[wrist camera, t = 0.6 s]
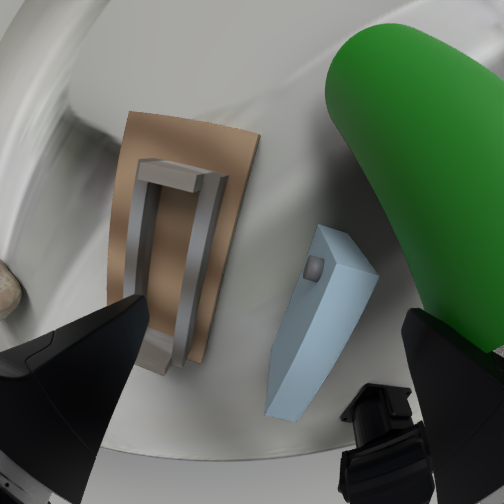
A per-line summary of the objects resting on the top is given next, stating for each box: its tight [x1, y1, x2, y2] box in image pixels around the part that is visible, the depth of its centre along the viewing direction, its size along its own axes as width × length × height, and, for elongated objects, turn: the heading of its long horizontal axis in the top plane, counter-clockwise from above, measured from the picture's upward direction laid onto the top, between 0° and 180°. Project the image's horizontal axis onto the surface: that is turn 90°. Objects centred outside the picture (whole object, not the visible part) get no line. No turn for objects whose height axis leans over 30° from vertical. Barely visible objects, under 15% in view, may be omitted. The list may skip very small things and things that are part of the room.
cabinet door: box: [265, 224, 380, 422], centre depth 18 cm, size 12×3×8 cm, turn 165°
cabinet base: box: [107, 111, 260, 376], centre depth 19 cm, size 20×10×6 cm, turn 165°
